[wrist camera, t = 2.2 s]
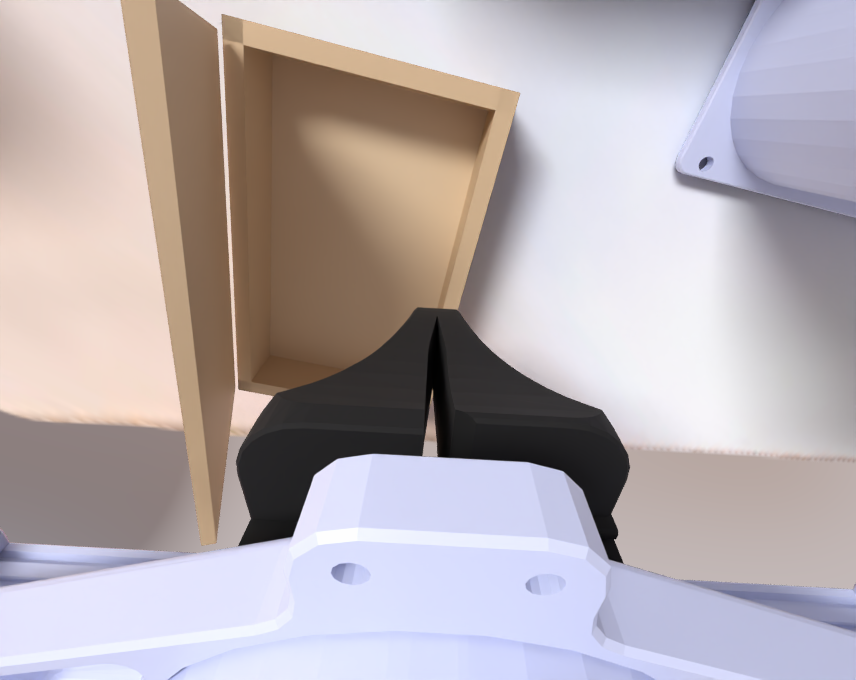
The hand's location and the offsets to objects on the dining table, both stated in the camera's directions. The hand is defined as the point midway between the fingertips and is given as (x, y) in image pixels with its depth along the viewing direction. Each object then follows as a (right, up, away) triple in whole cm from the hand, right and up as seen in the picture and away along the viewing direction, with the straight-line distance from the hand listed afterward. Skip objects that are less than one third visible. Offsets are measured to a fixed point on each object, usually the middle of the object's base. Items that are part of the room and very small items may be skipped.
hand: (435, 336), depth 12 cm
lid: (-6, +1, -1) cm, 7 cm away
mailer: (-3, +4, +5) cm, 7 cm away
